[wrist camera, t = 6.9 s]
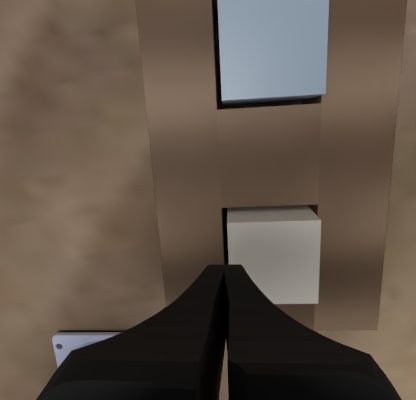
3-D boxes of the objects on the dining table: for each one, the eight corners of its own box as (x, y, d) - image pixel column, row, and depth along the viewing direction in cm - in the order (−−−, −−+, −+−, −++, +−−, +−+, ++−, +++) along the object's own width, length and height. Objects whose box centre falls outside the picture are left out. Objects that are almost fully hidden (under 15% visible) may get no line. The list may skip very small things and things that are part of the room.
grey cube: (303, 100, 17) (325, 94, 13) (223, 105, 17) (221, 100, 13) (305, 10, 16) (330, -26, 12) (219, 18, 16) (216, -15, 12)
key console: (350, 291, 21) (377, 329, 17) (179, 294, 22) (168, 330, 18) (371, -43, 16) (415, -95, 12) (151, -22, 17) (129, -63, 13)
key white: (300, 267, 19) (318, 303, 15) (230, 268, 20) (230, 304, 16) (301, 199, 18) (321, 220, 14) (227, 202, 19) (226, 222, 15)
